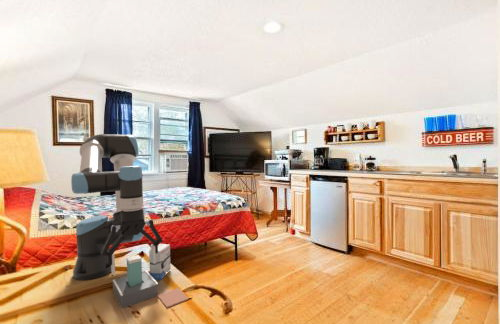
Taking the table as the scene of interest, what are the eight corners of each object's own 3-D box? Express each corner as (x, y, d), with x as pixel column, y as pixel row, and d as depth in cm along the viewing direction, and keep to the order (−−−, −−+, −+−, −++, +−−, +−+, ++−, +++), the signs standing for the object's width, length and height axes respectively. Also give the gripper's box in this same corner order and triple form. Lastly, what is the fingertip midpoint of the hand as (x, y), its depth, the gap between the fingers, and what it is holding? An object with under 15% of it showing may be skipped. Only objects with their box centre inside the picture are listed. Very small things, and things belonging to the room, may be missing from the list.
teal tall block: (127, 292, 94) (126, 257, 94) (139, 289, 97) (138, 254, 96) (130, 297, 91) (129, 261, 91) (142, 293, 93) (141, 257, 93)
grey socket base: (112, 291, 96) (112, 279, 95) (146, 280, 103) (146, 269, 103) (121, 308, 85) (121, 295, 84) (158, 295, 92) (158, 283, 92)
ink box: (160, 280, 103) (159, 251, 102) (149, 279, 104) (148, 250, 103) (171, 270, 111) (170, 243, 111) (160, 270, 112) (159, 243, 112)
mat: (157, 296, 91) (157, 295, 91) (181, 287, 97) (181, 286, 97) (166, 308, 84) (166, 306, 84) (192, 298, 90) (192, 296, 90)
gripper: (93, 216, 82) (96, 282, 83) (170, 205, 97) (172, 261, 98) (90, 212, 88) (92, 274, 88) (163, 203, 103) (164, 255, 104)
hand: (134, 267), depth 93 cm, fingers open, 13 cm apart
